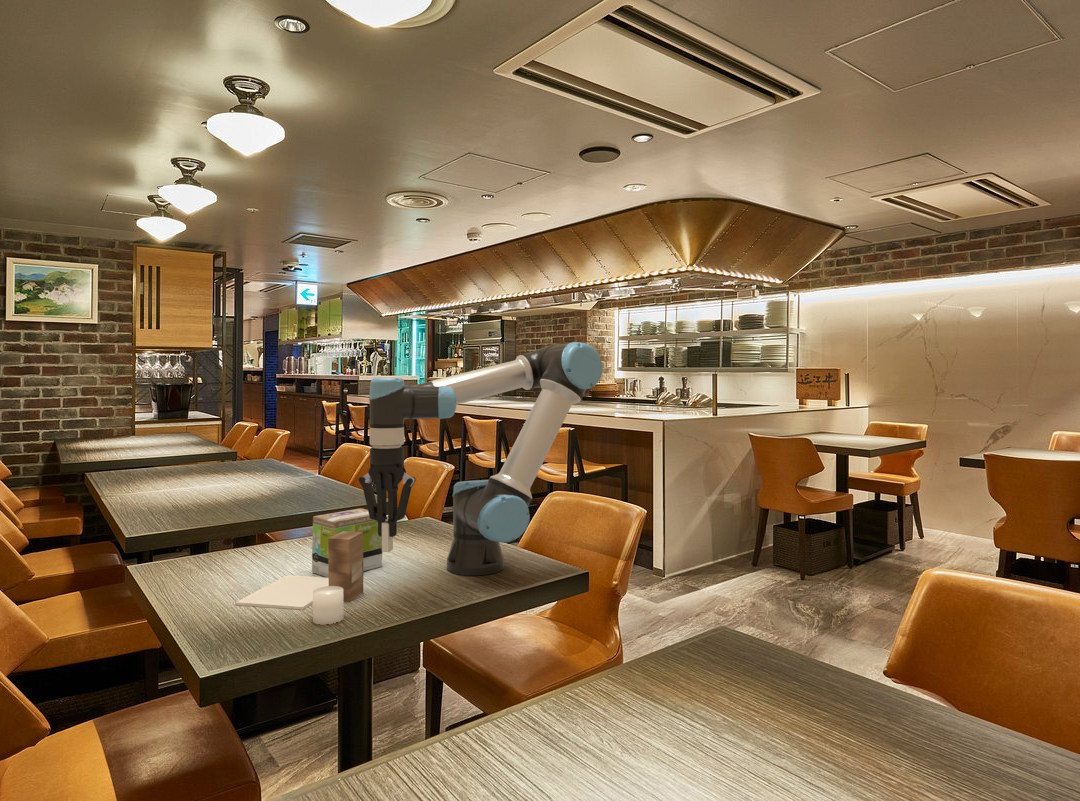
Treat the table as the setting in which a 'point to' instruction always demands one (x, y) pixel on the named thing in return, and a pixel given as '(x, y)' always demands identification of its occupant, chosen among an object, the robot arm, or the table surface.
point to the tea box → (349, 522)
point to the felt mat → (286, 593)
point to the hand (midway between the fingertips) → (387, 550)
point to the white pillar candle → (328, 605)
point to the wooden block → (346, 563)
